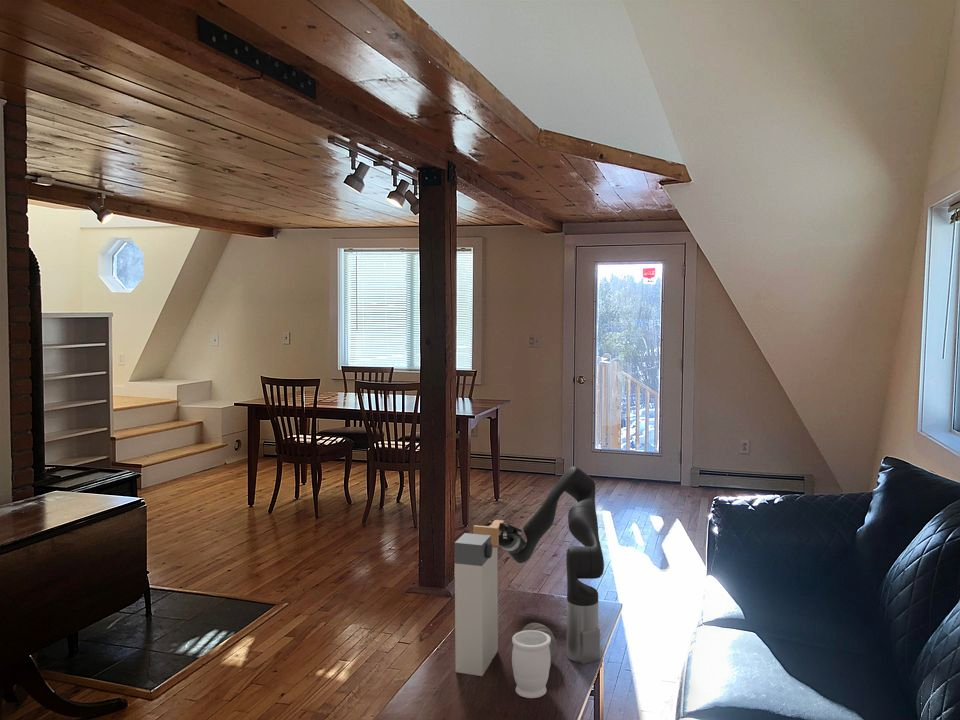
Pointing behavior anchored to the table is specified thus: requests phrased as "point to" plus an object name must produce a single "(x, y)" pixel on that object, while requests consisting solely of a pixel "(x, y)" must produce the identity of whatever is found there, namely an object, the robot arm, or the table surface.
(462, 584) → the pedestal
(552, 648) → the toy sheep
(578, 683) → the table surface
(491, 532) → the tan piece
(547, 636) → the jar
